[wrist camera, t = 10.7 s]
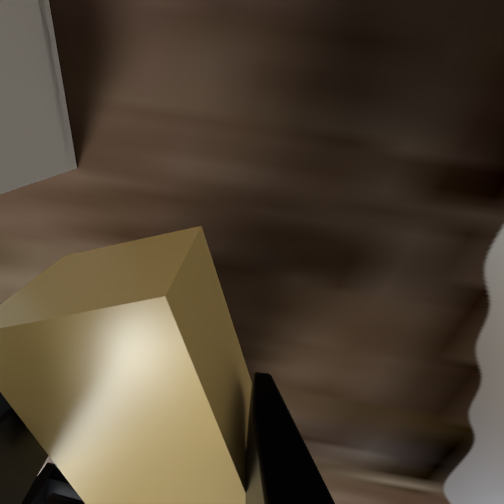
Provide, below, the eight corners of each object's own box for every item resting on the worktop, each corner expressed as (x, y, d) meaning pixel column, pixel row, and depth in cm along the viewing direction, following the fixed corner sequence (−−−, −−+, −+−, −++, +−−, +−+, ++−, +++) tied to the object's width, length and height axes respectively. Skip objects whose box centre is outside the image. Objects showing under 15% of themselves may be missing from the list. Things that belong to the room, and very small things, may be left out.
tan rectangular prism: (263, 418, 10) (263, 536, 7) (157, 433, 10) (120, 550, 8) (201, 225, 7) (164, 296, 5) (64, 255, 8) (-43, 336, 5)
